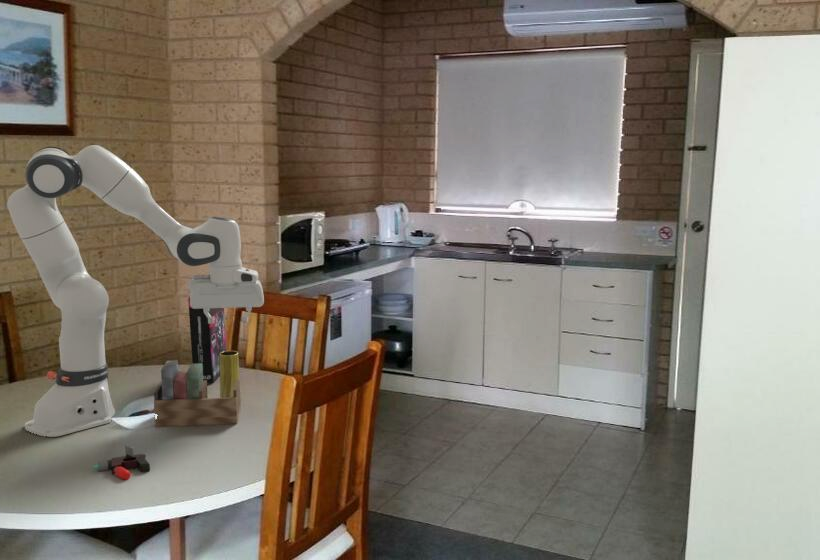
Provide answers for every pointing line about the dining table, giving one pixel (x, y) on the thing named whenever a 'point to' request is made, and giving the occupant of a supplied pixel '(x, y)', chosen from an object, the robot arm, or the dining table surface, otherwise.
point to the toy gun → (125, 463)
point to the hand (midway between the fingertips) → (228, 322)
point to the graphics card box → (207, 340)
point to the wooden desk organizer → (191, 399)
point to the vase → (228, 373)
